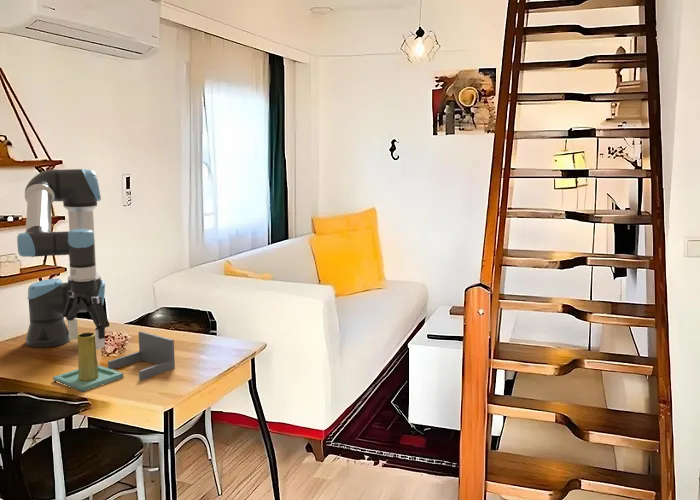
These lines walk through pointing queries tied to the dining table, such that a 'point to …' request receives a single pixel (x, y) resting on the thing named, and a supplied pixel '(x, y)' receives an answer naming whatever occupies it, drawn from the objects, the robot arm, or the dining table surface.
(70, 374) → the tray
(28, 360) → the dining table surface
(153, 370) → the dock
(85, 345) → the vase
